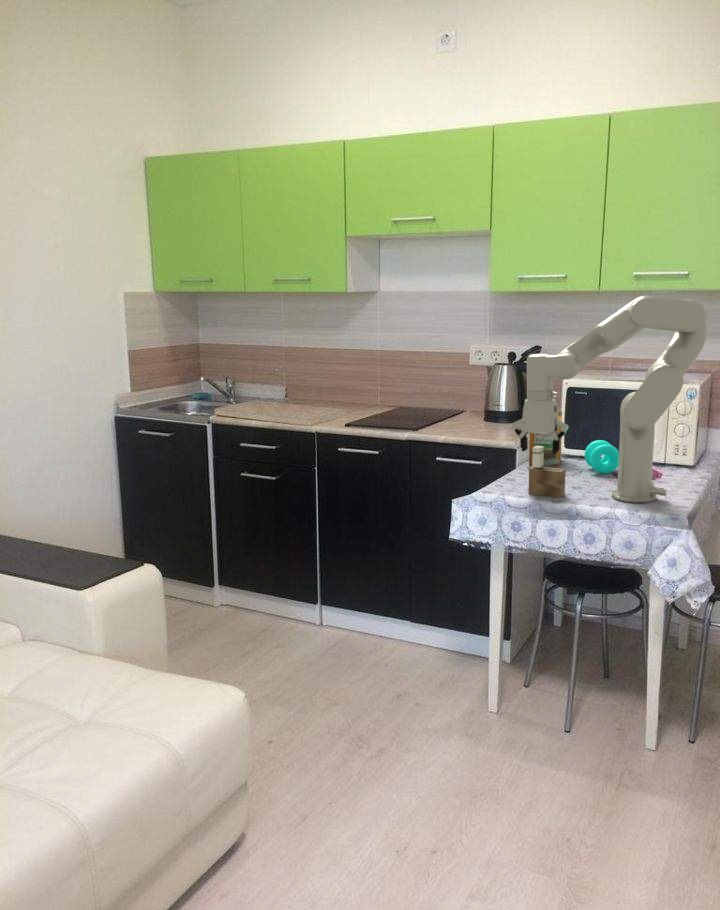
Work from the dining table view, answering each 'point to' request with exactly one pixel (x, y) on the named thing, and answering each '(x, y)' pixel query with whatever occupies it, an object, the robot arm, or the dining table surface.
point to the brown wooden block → (547, 481)
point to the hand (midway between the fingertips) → (539, 451)
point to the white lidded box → (537, 456)
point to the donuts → (609, 459)
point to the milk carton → (546, 446)
